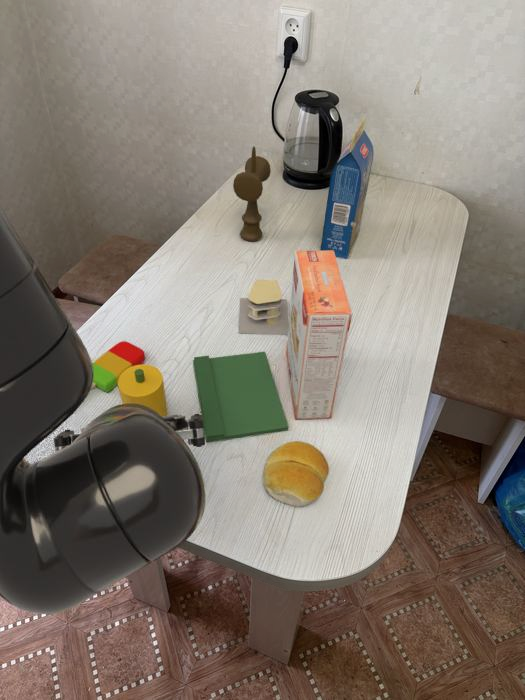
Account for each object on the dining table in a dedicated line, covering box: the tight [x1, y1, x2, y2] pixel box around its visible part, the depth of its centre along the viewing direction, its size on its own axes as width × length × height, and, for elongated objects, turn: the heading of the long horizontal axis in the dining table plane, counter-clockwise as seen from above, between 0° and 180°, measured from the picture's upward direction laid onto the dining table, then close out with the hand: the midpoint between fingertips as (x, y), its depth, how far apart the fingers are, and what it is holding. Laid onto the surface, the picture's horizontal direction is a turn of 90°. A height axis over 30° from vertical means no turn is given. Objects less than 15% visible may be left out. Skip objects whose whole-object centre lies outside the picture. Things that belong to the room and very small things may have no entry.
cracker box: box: [285, 250, 353, 420], centre depth 73 cm, size 14×6×21 cm, turn 3°
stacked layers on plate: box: [238, 279, 289, 335], centre depth 90 cm, size 10×9×6 cm
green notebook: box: [192, 351, 289, 443], centre depth 78 cm, size 12×16×1 cm
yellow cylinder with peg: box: [117, 363, 169, 416], centre depth 71 cm, size 6×6×10 cm
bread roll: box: [262, 440, 330, 508], centre depth 67 cm, size 8×9×4 cm
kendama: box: [232, 146, 272, 242], centre depth 105 cm, size 6×10×20 cm, turn 167°
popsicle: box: [90, 340, 146, 394], centre depth 78 cm, size 6×15×2 cm, turn 147°
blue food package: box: [319, 115, 375, 259], centre depth 103 cm, size 6×12×25 cm, turn 160°
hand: (137, 428), depth 57 cm, fingers open, 8 cm apart
